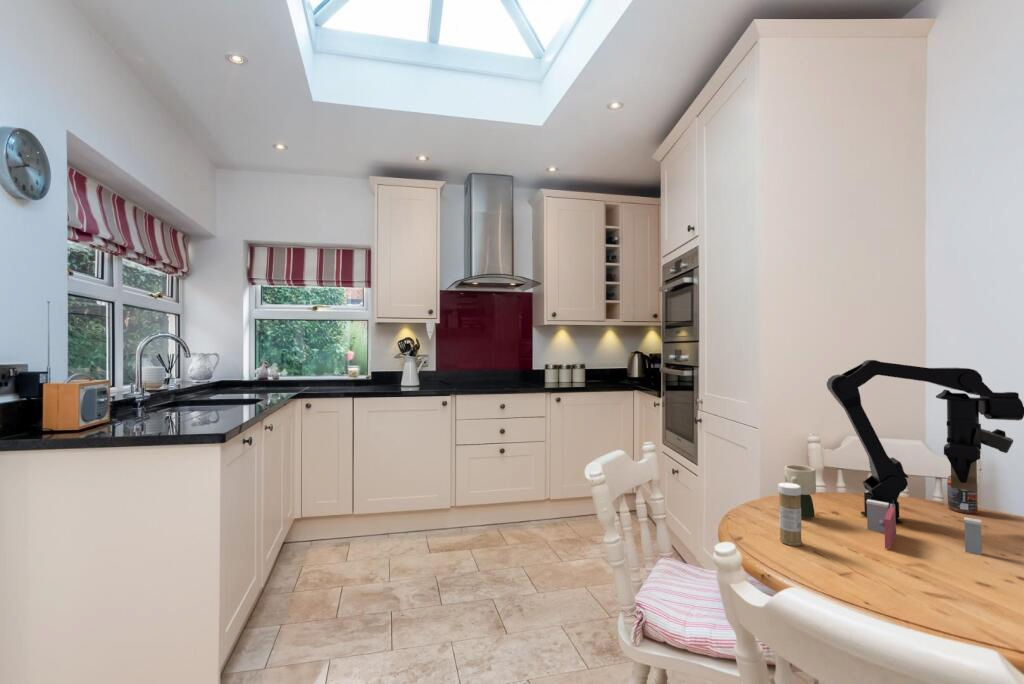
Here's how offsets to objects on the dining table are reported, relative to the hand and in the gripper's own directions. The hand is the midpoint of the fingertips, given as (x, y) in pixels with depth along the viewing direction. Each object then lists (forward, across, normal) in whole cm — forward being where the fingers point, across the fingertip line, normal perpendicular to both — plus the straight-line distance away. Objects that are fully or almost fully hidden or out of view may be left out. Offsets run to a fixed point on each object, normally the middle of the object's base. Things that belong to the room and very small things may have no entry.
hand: (963, 480), depth 115 cm
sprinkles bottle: (+12, -40, +28) cm, 50 cm away
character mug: (+12, -19, +31) cm, 38 cm away
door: (+12, -24, +12) cm, 29 cm away
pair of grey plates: (+12, -17, +7) cm, 22 cm away
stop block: (+2, 0, 0) cm, 2 cm away
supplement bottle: (+12, +17, +1) cm, 20 cm away
